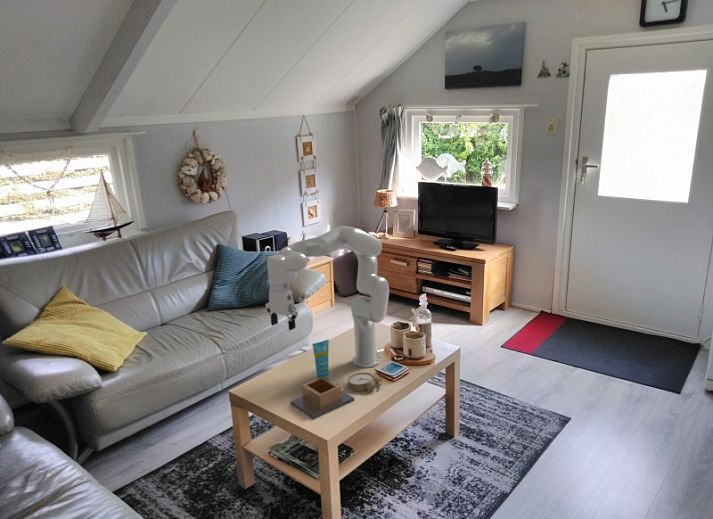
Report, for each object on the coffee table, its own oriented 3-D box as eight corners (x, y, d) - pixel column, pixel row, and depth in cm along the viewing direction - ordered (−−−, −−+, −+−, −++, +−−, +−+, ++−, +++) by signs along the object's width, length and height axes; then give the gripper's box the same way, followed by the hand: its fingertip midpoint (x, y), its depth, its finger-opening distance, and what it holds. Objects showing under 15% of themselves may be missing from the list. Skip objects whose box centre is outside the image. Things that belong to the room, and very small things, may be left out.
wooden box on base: (330, 386, 234) (329, 371, 232) (354, 400, 222) (353, 384, 220) (290, 403, 222) (289, 387, 220) (313, 419, 210) (312, 402, 208)
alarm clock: (354, 371, 241) (385, 371, 234) (356, 381, 242) (387, 381, 235) (342, 383, 231) (374, 383, 224) (345, 393, 232) (377, 394, 225)
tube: (318, 387, 234) (315, 345, 229) (313, 382, 238) (309, 341, 233) (333, 381, 238) (330, 340, 233) (327, 377, 242) (325, 337, 237)
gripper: (302, 286, 214) (305, 327, 219) (270, 280, 225) (274, 319, 229) (288, 292, 209) (292, 334, 213) (257, 285, 219) (261, 325, 224)
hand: (283, 326), depth 221 cm, fingers open, 9 cm apart
